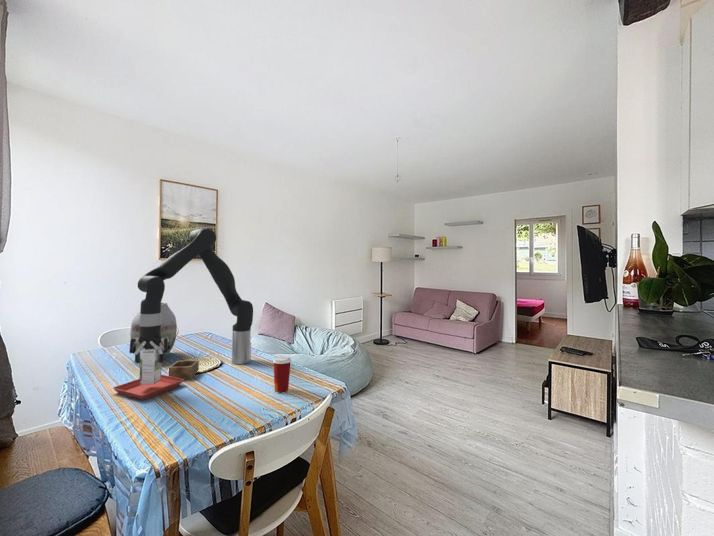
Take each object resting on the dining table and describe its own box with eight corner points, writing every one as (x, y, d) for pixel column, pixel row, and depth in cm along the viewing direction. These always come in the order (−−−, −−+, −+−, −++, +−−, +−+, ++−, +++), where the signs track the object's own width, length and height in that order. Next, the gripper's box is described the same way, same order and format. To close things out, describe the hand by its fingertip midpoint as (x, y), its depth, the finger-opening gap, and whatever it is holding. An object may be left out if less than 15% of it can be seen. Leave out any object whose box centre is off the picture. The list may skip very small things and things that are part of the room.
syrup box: (146, 380, 130) (146, 346, 130) (161, 379, 131) (161, 345, 131) (139, 385, 124) (139, 349, 124) (154, 384, 125) (154, 349, 125)
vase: (184, 356, 172) (184, 302, 171) (141, 366, 154) (142, 306, 153) (164, 349, 183) (165, 299, 183) (122, 358, 165) (123, 303, 165)
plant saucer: (111, 395, 122) (111, 387, 122) (155, 380, 139) (156, 372, 139) (141, 404, 116) (141, 395, 116) (184, 386, 132) (184, 379, 132)
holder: (198, 371, 149) (198, 360, 149) (191, 378, 140) (191, 366, 140) (177, 372, 147) (177, 360, 147) (168, 379, 138) (168, 367, 138)
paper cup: (294, 388, 132) (294, 356, 132) (284, 395, 125) (285, 361, 125) (278, 385, 135) (279, 354, 134) (268, 392, 127) (268, 359, 127)
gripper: (173, 322, 132) (172, 359, 132) (136, 322, 129) (135, 360, 130) (165, 325, 124) (164, 365, 125) (126, 325, 122) (125, 366, 122)
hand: (149, 362), depth 127 cm, fingers open, 8 cm apart
